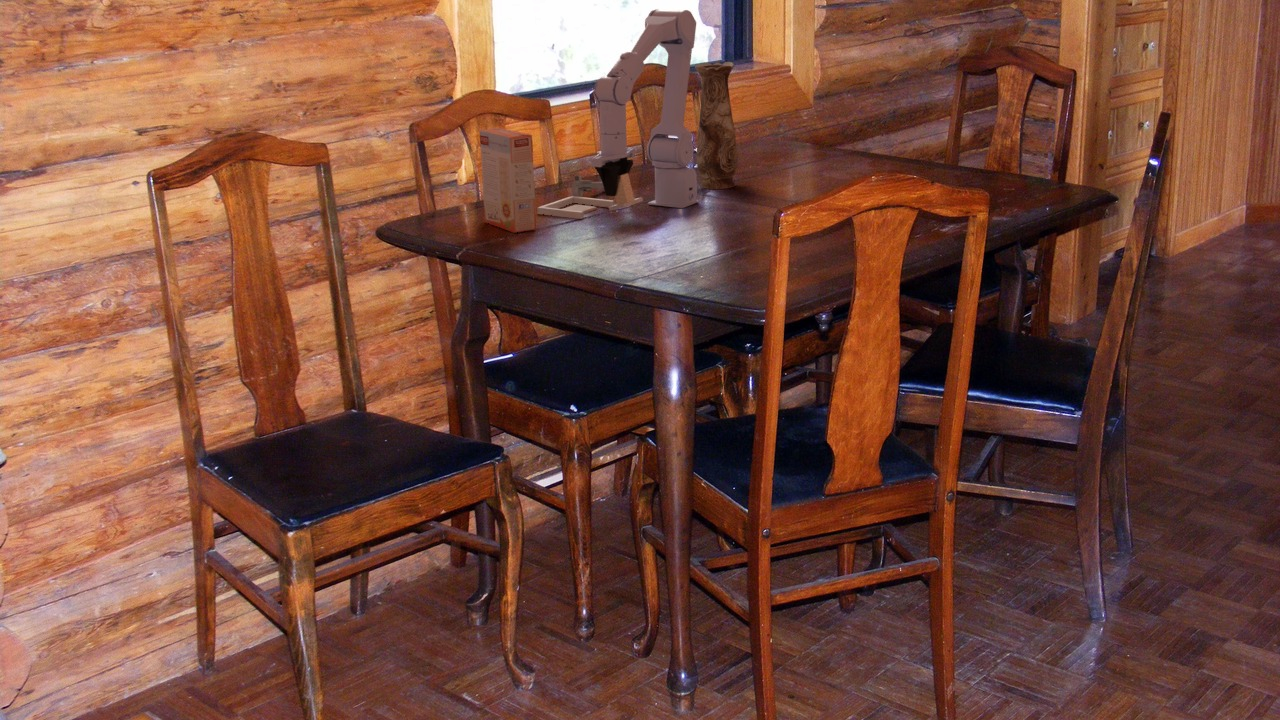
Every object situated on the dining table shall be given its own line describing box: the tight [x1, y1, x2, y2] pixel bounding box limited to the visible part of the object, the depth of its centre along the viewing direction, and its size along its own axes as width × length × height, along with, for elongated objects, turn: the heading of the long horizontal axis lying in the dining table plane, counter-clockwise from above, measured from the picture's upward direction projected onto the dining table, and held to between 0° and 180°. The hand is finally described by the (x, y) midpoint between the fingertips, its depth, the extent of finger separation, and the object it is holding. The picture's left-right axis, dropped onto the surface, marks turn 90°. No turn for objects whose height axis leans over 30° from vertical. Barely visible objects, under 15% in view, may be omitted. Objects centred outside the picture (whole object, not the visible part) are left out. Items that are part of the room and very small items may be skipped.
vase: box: [694, 61, 739, 190], centre depth 313 cm, size 10×11×30 cm
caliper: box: [571, 175, 604, 197], centre depth 311 cm, size 20×1×6 cm, turn 149°
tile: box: [562, 204, 598, 215], centre depth 294 cm, size 6×6×1 cm
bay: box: [536, 195, 615, 220], centre depth 294 cm, size 12×14×2 cm
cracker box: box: [479, 127, 537, 234], centre depth 277 cm, size 14×6×21 cm, turn 34°
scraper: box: [608, 173, 644, 212], centre depth 280 cm, size 4×8×7 cm, turn 148°
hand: (615, 194), depth 281 cm, fingers closed on scraper, 3 cm apart
